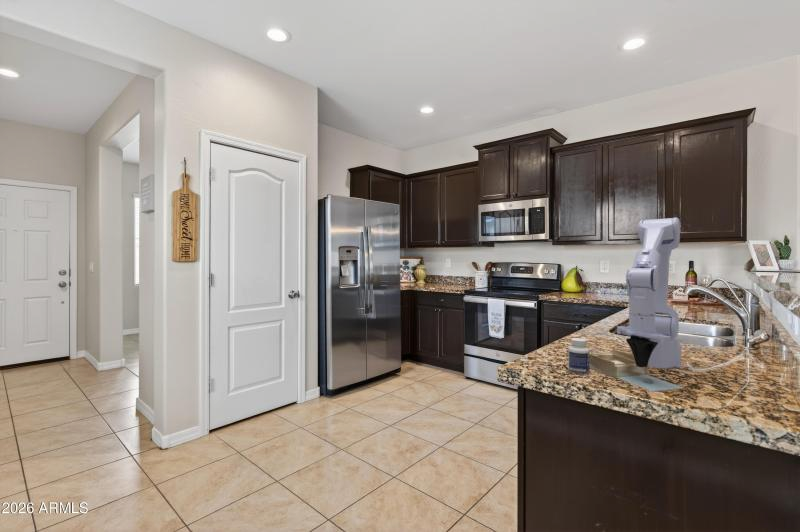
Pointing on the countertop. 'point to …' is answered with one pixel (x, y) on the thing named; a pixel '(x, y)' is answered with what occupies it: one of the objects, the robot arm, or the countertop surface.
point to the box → (609, 368)
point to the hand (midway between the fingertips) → (641, 366)
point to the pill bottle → (579, 356)
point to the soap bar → (618, 363)
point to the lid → (649, 383)
